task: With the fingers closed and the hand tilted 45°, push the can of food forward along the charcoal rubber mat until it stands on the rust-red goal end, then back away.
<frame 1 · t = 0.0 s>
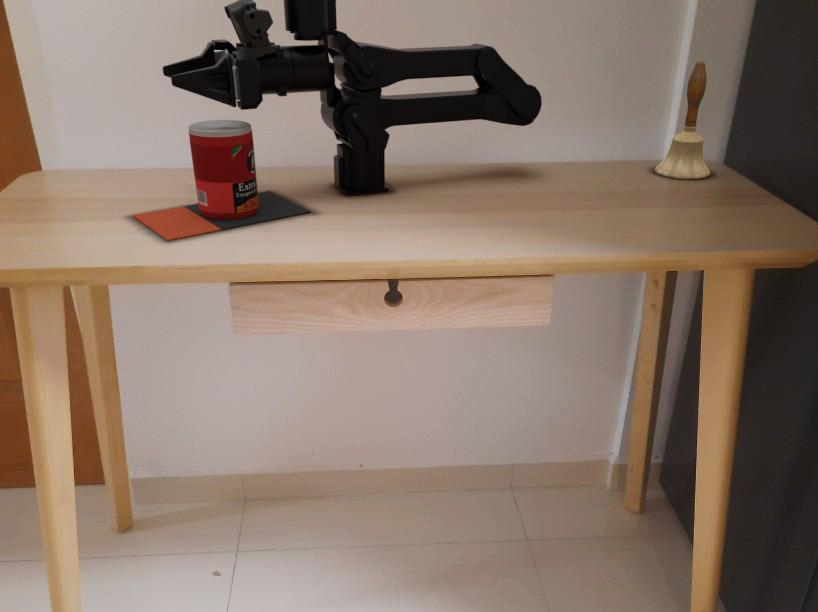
hand: (167, 75, 97), 17 cm above the table, tool horizontal, fingers open, 9 cm apart
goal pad: (176, 223, 99), on the table
hand bell: (681, 173, 121), on the table
canned food: (229, 213, 103), resting on mat
mat: (246, 210, 104), on the table
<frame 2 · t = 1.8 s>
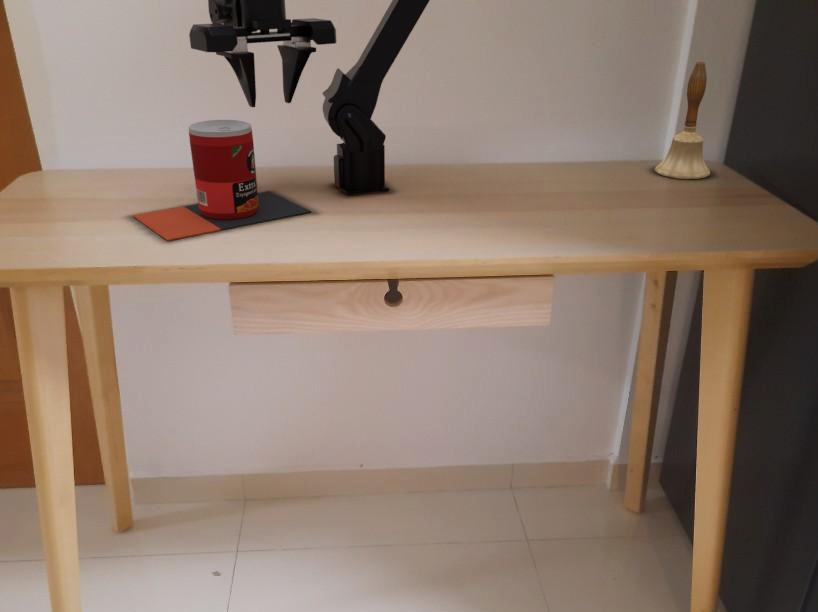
hand: (270, 104, 105), 12 cm above the table, tool pointing down, fingers open, 5 cm apart
nothing on the table moved.
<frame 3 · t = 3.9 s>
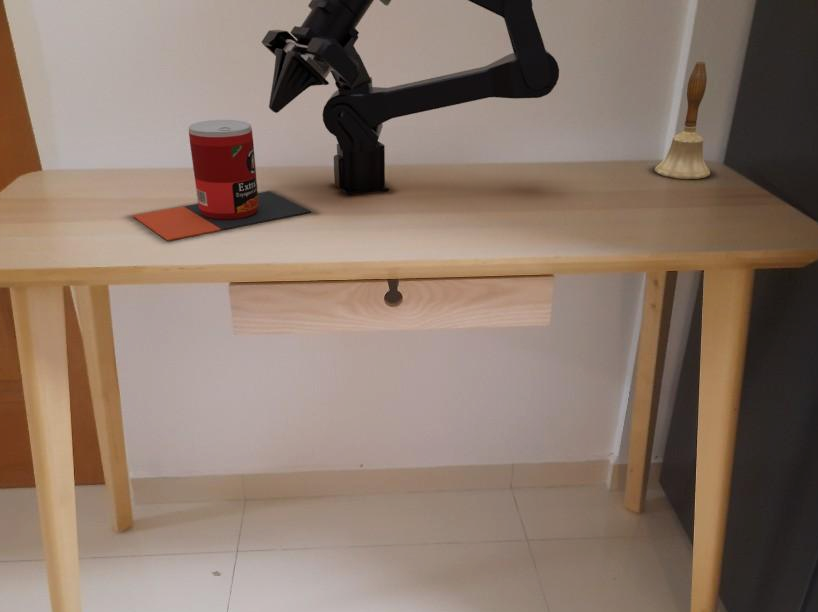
hand: (272, 110, 102), 12 cm above the table, tool tilted 40°, fingers closed
nothing on the table moved.
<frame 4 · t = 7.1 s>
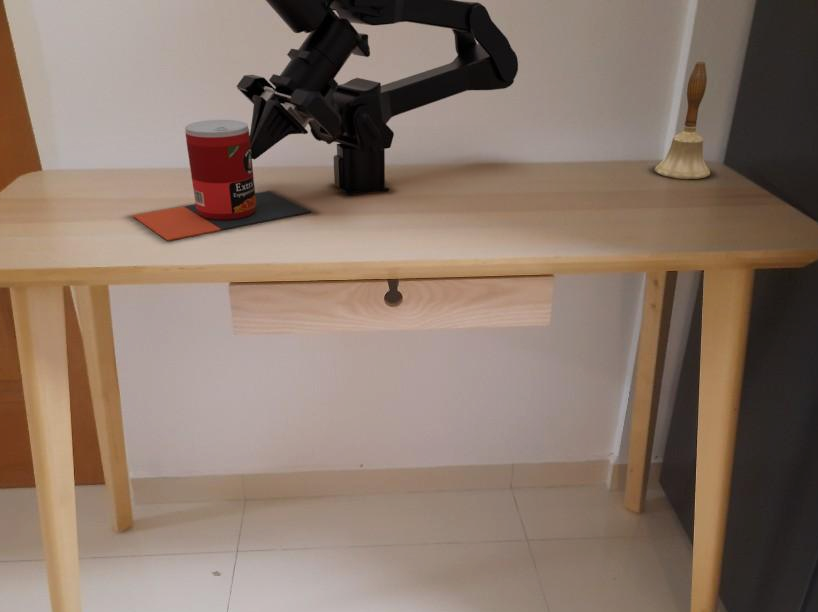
hand: (250, 157, 101), 7 cm above the table, tool tilted 45°, fingers closed, pressing on canned food
canned food: (227, 213, 103), resting on mat, touching gripper
everything else where it was.
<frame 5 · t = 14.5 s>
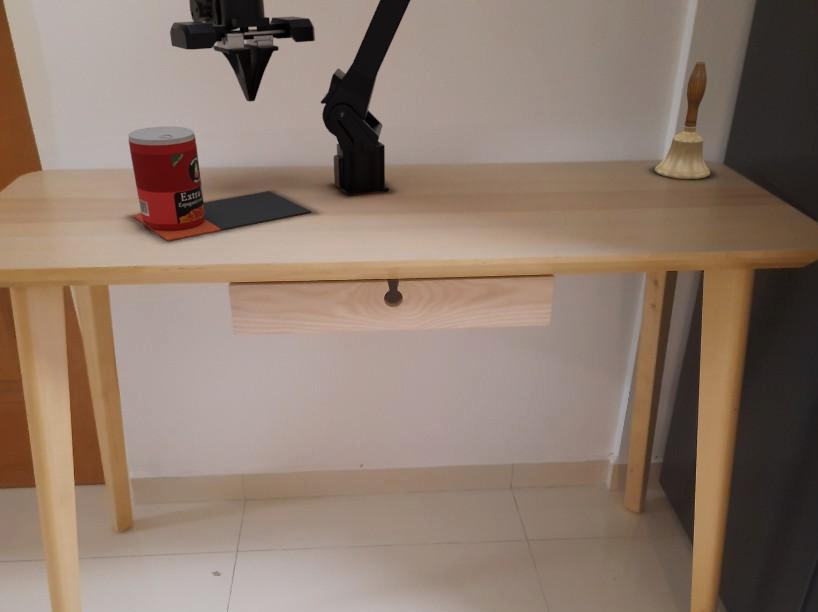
hand: (250, 100, 108), 12 cm above the table, tool pointing down, fingers closed
canned food: (174, 223, 99), resting on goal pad
everything else where it was.
at the end: canned food 0.1 cm from the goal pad (horizontally); canned food tilted 0°; canned food moved 7.6 cm from its start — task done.
